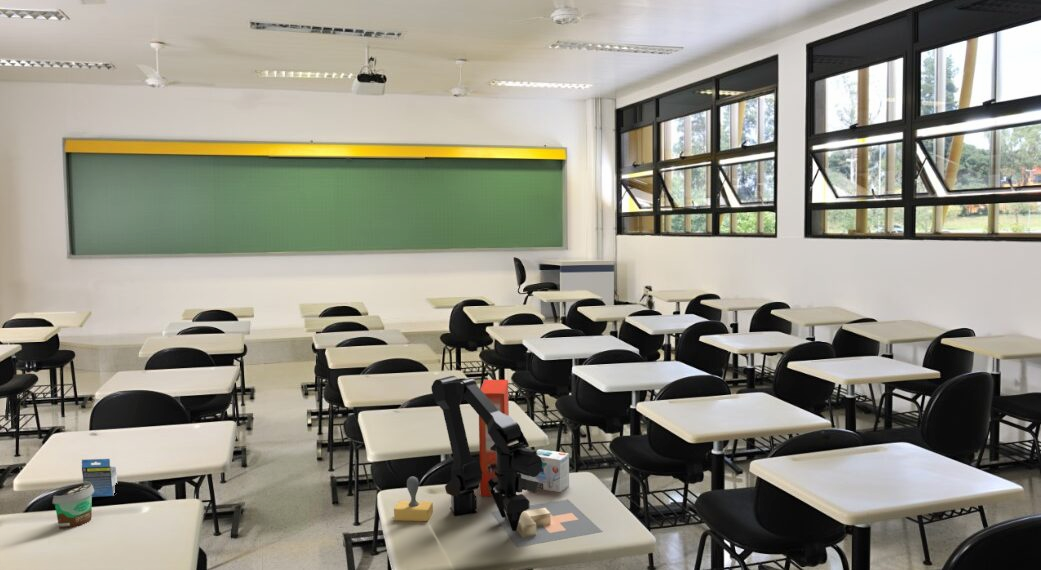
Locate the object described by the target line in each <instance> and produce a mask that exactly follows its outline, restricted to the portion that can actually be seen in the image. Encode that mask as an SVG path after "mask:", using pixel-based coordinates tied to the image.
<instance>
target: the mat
mask: <svg viewBox="0 0 1041 570" xmlns="http://www.w3.org/2000/svg"><path fill="white" fill-rule="evenodd" d="M540 508H546V509H547V510H548V511H549V512H550V516H551V524H545V525H540V526H536V533H537V535H531V536H526V537H522V536H521V535H520V534H519V532H518V531H517V530H516V531H512V529H511V527H510V524H509V521H508V519H507V518H506V517H504V518H502V516H501V514H500V512H499V510H498V509H497V510H493V511H490V513H491V515H492V516H493V517H494V519H495V520H496V521H497V522H498V524H499V525H500V526H501V528H502V529H503V530H504V532H505V533H506V534H507V535H508V537H509V538H510V539H511V541H512V542H513V543H514V545H515V546H516V547H517V548H520V547H526V546H531V545H537V544H543V543H549V542H554V541H559V540H564V539H570V538H571V539H572V538H576V537H581V536H582V537H583V536H587V535H592V534H599V533H603V530H601V529H600V528H599V527H598V526H597V525H596V524H595V523H594V522H593V521H592V520H591V519H590V518H589V517H588V516H587V515H585V514H584V513H583V512H582V511H581V510H580V509H579V508H578V507H577V506H576V505H575V504H574V503H573V502H572V501H570V500H569V498H568V499H567V498H566V499H560V500H554V501H548V502H543V503H537V504H536V503H535V504H530V508H529V509H527V510H526V511H528V510H534V509H540Z"/></svg>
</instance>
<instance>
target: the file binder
mask: <svg viewBox="0 0 1041 570" xmlns="http://www.w3.org/2000/svg"><path fill="white" fill-rule="evenodd" d="M480 389H481V391H482V392H483V393H484V394H485V395H486V396H487V398H488V399H489V400H490V401H491V402H492V403H493V404H494V406H495V407H496V408H497V409H498V410H499V411H500V412H501V413H503V414H505V415H507V416H510V415H509V411H510V410H509V407H510V406H509V405H510V404H509V380H508V379H484V380H483V383H482V385H481V387H480ZM478 434H479V435H478V441H479V442H478V444H479V446H478V447H479V461H480V466H481V470H482V472H483V474H482V480H481V482H480V485H479V491H480V492H479V493H480V497H491V498H493V497H492V495H491V493H490V490H489V489H488V481H489V480H490V479H491V478H497V476H496V475H495V470H497V458H496V451H493V450H491V449H490V448H491V447H492V446H493V445H494V444H495V443H494V442H493V440H492V438H491V437H490V435H489V434H488V429H487V425H486V423H485V422H484V421H483V420H482V418H481V417H480V416H479V415H478ZM507 445H509V446H510V444H507Z"/></svg>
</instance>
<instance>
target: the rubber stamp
mask: <svg viewBox="0 0 1041 570" xmlns="http://www.w3.org/2000/svg"><path fill="white" fill-rule="evenodd" d="M419 483H420V482H419V478H418V477H416V476H410V477H408V478H407V480H406V488H407V490H408V493H409V495H410V498H411V499H410V500H399V501H398V503H397V504H396V505H395V506H394V508H393V518H394V520H393V521H397V522H398V521H400V522H429V521H430V518H431V517H432V515H433V513H434V504H433V501H423V500H422V501H418V500H417V499H416V498H417V497H416V496H417V494H418V490H419V486H420V484H419Z"/></svg>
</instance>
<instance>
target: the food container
mask: <svg viewBox="0 0 1041 570" xmlns="http://www.w3.org/2000/svg"><path fill="white" fill-rule="evenodd" d="M93 493H94V488H93V486H92V484H91V483H90V482H87V481H84V484H82V485H80V486H78V487H76V488H72V489H70V490H68V491H67V492H65V493H63V494H61V495H53V498H52V504H53V505H54V507H55V513H56V518H57V523H58V529H59V530H65V529H66V530H67V529H73V527H74V528H78V527H80V526H84V525H86V524H88V523H90V521H91V520H92V519H91V518H92V515H93V514H92V511H93V509H92V505H93V504H92V499H93V497H92V494H93ZM87 522H88V523H87ZM85 523H86V524H85ZM83 524H84V525H83ZM77 526H78V527H77Z"/></svg>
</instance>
